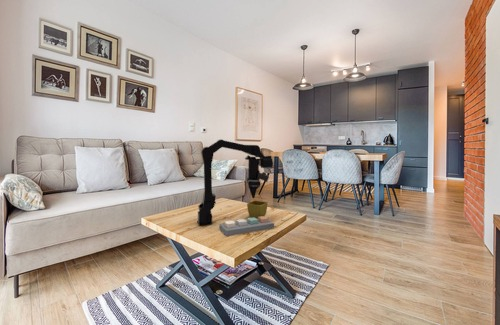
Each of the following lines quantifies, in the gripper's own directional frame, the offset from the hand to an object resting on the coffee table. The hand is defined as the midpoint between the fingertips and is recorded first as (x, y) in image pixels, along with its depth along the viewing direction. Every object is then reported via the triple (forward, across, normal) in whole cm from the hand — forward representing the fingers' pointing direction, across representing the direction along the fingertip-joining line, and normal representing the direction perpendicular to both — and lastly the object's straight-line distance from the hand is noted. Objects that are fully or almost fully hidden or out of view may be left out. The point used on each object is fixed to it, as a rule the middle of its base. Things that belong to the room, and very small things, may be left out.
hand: (252, 196), depth 125 cm
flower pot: (+13, +2, -3) cm, 14 cm away
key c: (+12, -13, +1) cm, 18 cm away
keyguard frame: (+13, -14, +4) cm, 20 cm away
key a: (+12, -18, +12) cm, 24 cm away
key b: (+12, -15, +6) cm, 20 cm away
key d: (+12, -11, -5) cm, 17 cm away
